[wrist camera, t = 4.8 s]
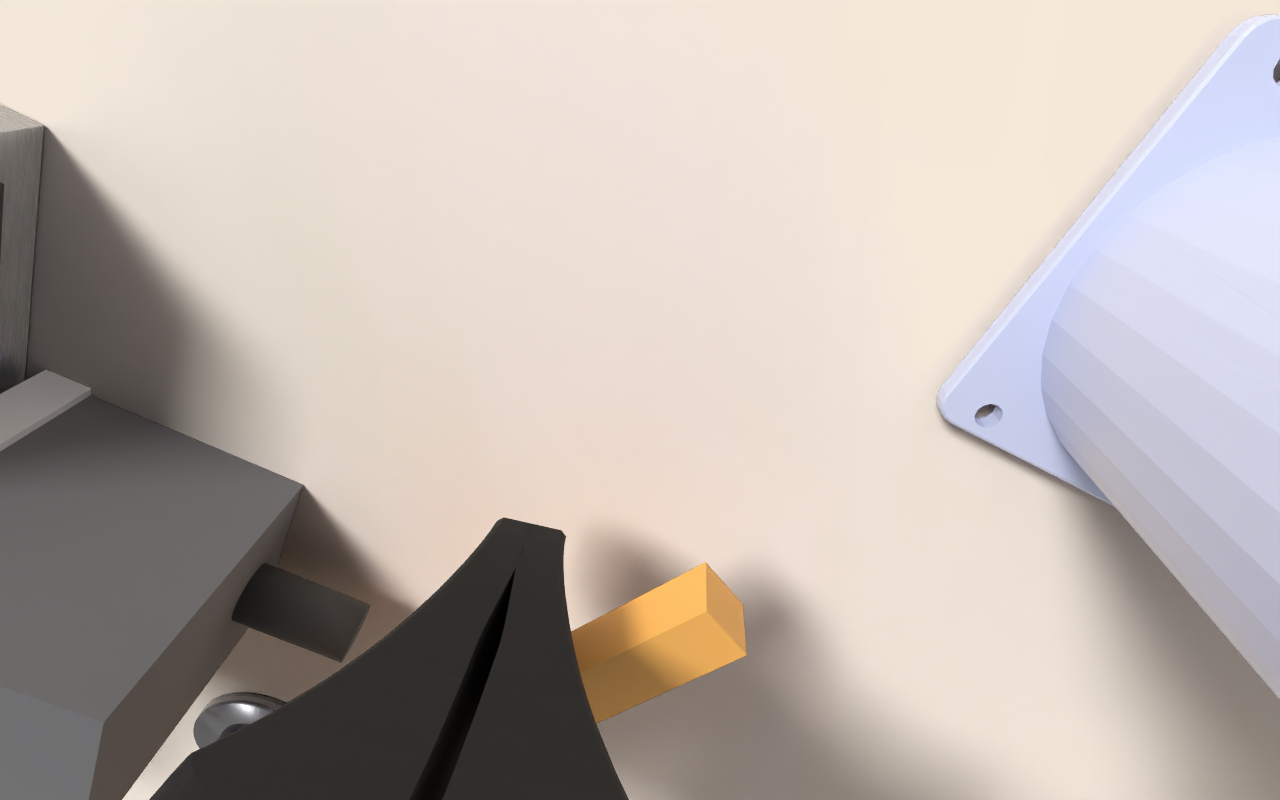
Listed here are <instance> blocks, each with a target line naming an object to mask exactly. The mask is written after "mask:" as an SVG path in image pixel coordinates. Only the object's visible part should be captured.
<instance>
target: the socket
mask: <svg viewBox="0 0 1280 800" xmlns="http://www.w3.org/2000/svg"><path fill="white" fill-rule="evenodd" d="M43 132H44V125H42V124H40V123H38V122H36V121H33V120H31V119H29V118H27V117H25V116H23V115H21V114H19V113H17V112H14V111H12V110H10V109H8V108H6V107H4V106H2V105H0V394H1V393H3V392H5V391H7V390H9V389H10V388H12V387H14V386H16V385H18V384H20V383H22V382H23V381H25V369H26V356H27V342H28V329H29V316H30V303H31V290H32V277H33V263H34V250H35V237H36V224H37V211H38V198H39V184H40V171H41V158H42V145H43Z"/></svg>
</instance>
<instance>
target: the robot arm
mask: <svg viewBox="0 0 1280 800" xmlns="http://www.w3.org/2000/svg"><path fill="white" fill-rule="evenodd" d="M1279 59H1280V15H1262V16H1254V17H1252V18H1250V19H1248V20H1246V21H1244V22H1242V23H1240V24H1239V25H1238V26H1237V27H1236V28H1235V29H1234V30H1233V31H1232V32H1230V33H1229V34H1228V35H1227V37H1226V38H1225V39H1224V40H1223V42H1222V43H1221V44H1220V45H1219V46H1218V48H1217V49H1216V50H1215V51H1214V53H1213V54H1212V55H1211V56H1210V57H1209V59H1208V60H1207V61H1206V62H1205V64H1204V65H1203V66H1202V67H1201V69H1200V70H1199V71H1198V72H1197V73H1196V75H1195V76H1194V77H1193V78H1192V80H1191V81H1190V82H1189V83H1188V84H1187V86H1186V87H1185V88H1184V89H1183V91H1182V92H1181V93H1180V94H1179V96H1178V97H1177V98H1176V99H1175V100H1174V102H1173V103H1172V104H1171V105H1170V107H1169V108H1168V109H1167V110H1166V111H1165V113H1164V114H1163V115H1162V116H1161V118H1160V119H1159V120H1158V121H1157V123H1156V124H1155V125H1154V126H1153V127H1152V129H1151V130H1150V131H1149V132H1148V134H1147V135H1146V136H1145V137H1144V138H1143V140H1142V141H1141V142H1140V143H1139V145H1138V146H1137V147H1136V148H1135V150H1134V151H1133V152H1132V153H1131V154H1130V156H1129V157H1128V158H1127V159H1126V161H1125V162H1124V163H1123V164H1122V165H1121V167H1120V168H1119V169H1118V170H1117V172H1116V173H1115V174H1114V175H1113V177H1112V178H1111V179H1110V180H1109V181H1108V183H1107V184H1106V185H1105V186H1104V188H1103V189H1102V190H1101V191H1100V192H1099V194H1098V195H1097V196H1096V197H1095V199H1094V200H1093V201H1092V202H1091V203H1090V205H1089V206H1088V207H1087V208H1086V210H1085V211H1084V212H1083V213H1082V215H1081V216H1080V217H1079V218H1078V219H1077V221H1076V222H1075V223H1074V224H1073V226H1072V227H1071V228H1070V229H1069V230H1068V232H1067V233H1066V234H1065V235H1064V237H1063V238H1062V239H1061V240H1060V242H1059V243H1058V244H1057V245H1056V246H1055V248H1054V249H1053V250H1052V251H1051V253H1050V254H1049V255H1048V256H1047V257H1046V259H1045V260H1044V261H1043V262H1042V264H1041V265H1040V266H1039V267H1038V269H1037V270H1036V271H1035V272H1034V273H1033V275H1032V276H1031V277H1030V278H1029V280H1028V281H1027V282H1026V283H1025V284H1024V286H1023V287H1022V288H1021V289H1020V291H1019V292H1018V293H1017V294H1016V296H1015V297H1014V298H1013V299H1012V300H1011V302H1010V303H1009V304H1008V305H1007V307H1006V308H1005V309H1004V310H1003V311H1002V313H1001V314H1000V315H999V316H998V318H997V319H996V320H995V321H994V323H993V324H992V325H991V326H990V327H989V329H988V330H987V331H986V332H985V334H984V335H983V336H982V337H981V338H980V340H979V341H978V342H977V343H976V345H975V346H974V347H973V348H972V350H971V351H970V352H969V353H968V354H967V356H966V357H965V358H964V359H963V361H962V362H961V363H960V364H959V365H958V367H957V368H956V369H955V370H954V372H953V373H952V374H951V375H950V377H949V378H948V379H947V380H946V381H945V383H944V384H943V385H942V386H941V388H940V390H939V392H938V394H937V402H936V403H937V406H938V408H939V410H940V412H941V414H942V415H943V417H944V418H945V419H946V420H947V421H949V422H950V423H951V424H953V425H955V426H957V427H959V428H961V429H963V430H965V431H967V432H969V433H971V434H973V435H975V436H977V437H979V438H981V439H983V440H985V441H987V442H989V443H990V444H992V445H994V446H996V447H998V448H1000V449H1002V450H1004V451H1006V452H1008V453H1010V454H1012V455H1014V456H1016V457H1018V458H1020V459H1022V460H1024V461H1026V462H1028V463H1030V464H1032V465H1034V466H1036V467H1038V468H1040V469H1041V470H1043V471H1045V472H1047V473H1049V474H1051V475H1053V476H1055V477H1057V478H1059V479H1061V480H1063V481H1065V482H1067V483H1069V484H1071V485H1073V486H1075V487H1077V488H1079V489H1081V490H1083V491H1085V492H1087V493H1089V494H1091V495H1092V496H1094V497H1096V498H1098V499H1100V500H1102V501H1104V502H1106V503H1108V504H1110V505H1112V506H1114V507H1116V509H1117V510H1118V511H1119V512H1120V513H1121V514H1122V516H1123V517H1124V518H1125V519H1126V520H1127V521H1128V523H1129V524H1130V525H1131V526H1132V527H1133V528H1134V530H1135V531H1136V532H1137V533H1138V534H1139V535H1140V537H1141V538H1142V539H1143V540H1144V541H1145V542H1146V544H1147V545H1148V546H1149V547H1150V548H1151V549H1152V551H1153V552H1154V553H1155V554H1156V555H1157V556H1158V558H1159V559H1160V560H1161V561H1162V562H1163V564H1164V565H1165V566H1166V567H1167V568H1168V569H1169V571H1170V572H1171V573H1172V574H1173V575H1174V576H1175V578H1176V579H1177V580H1178V581H1179V582H1180V583H1181V585H1182V586H1183V587H1184V588H1185V589H1186V590H1187V592H1188V593H1189V594H1190V595H1191V596H1192V597H1193V599H1194V600H1195V601H1196V602H1197V603H1198V604H1199V606H1200V607H1201V608H1202V609H1203V610H1204V612H1205V613H1206V614H1207V615H1208V616H1209V617H1210V619H1211V620H1212V621H1213V622H1214V623H1215V624H1216V626H1217V627H1218V628H1219V629H1220V630H1221V631H1222V633H1223V634H1224V635H1225V636H1226V637H1227V638H1228V640H1229V641H1230V642H1231V643H1232V644H1233V645H1234V647H1235V648H1236V649H1237V650H1238V651H1239V652H1240V654H1241V655H1242V656H1243V657H1244V658H1245V659H1246V661H1247V662H1248V663H1249V664H1250V665H1251V667H1252V668H1253V669H1254V670H1255V671H1256V672H1257V674H1258V675H1259V676H1260V677H1261V678H1262V679H1263V681H1264V682H1265V683H1266V684H1267V685H1268V686H1269V688H1270V689H1271V690H1272V691H1273V692H1274V693H1275V695H1276V696H1277V697H1278V698H1279V699H1280V81H1279V82H1277V83H1276V82H1275V81H1274V79H1273V72H1274V68H1275V66H1276V64H1277V63H1278V61H1279ZM989 404H994V405H995V408H994V410H993V412H992V413H990V414H989V415H988V416H985V417H981V418H978V417H975V414H976V412H977V410H978V409H980V408H981V407H982V406H984V405H989ZM565 538H566V536H565V535H564V533H563V532H562V531H561V530H557V529H553V528H548V527H544V526H539V525H535V524H530V523H526V522H521V521H517V520H513V519H508V518H502V519H500V520H498V521H497V522H496V523H495V525H494V526H493V528H492V529H491V531H490V532H489V533H488V535H487V536H486V537H485V539H484V540H483V541H482V542H481V544H480V545H479V546H478V547H477V548H476V550H475V551H474V552H473V553H472V554H471V555H470V557H469V558H468V559H467V560H466V561H465V562H464V563H463V564H462V565H461V566H460V568H459V569H458V570H457V571H456V572H455V573H454V574H453V575H452V576H451V577H450V578H449V579H448V580H447V581H446V582H445V583H444V584H443V585H442V586H441V587H440V588H439V589H438V590H437V591H436V592H435V593H434V594H433V595H432V596H431V597H430V598H429V599H428V600H427V601H425V602H424V603H423V604H422V605H421V606H420V607H419V608H418V609H417V610H416V611H415V612H414V613H413V614H411V615H410V616H409V617H408V618H407V619H406V620H405V621H403V622H402V623H401V624H400V625H399V626H398V627H396V628H395V629H394V630H393V631H391V632H390V633H389V634H388V635H387V636H385V637H384V638H383V639H381V640H380V641H379V642H378V643H376V644H375V645H374V646H372V647H371V648H370V649H369V650H367V651H366V652H365V653H363V654H362V655H360V656H359V657H357V658H356V659H355V660H353V661H352V662H350V663H349V664H348V665H346V666H345V667H343V668H342V669H341V670H339V671H338V672H336V673H335V674H333V675H332V676H330V677H329V678H327V679H326V680H324V681H323V682H321V683H320V684H318V685H316V686H315V687H313V688H312V689H310V690H308V691H306V692H305V693H303V694H301V695H300V696H298V697H296V698H295V699H293V700H291V701H290V702H288V703H286V704H285V705H283V706H281V707H280V708H278V709H276V710H274V711H273V712H271V713H269V714H268V715H266V716H264V717H262V718H260V719H258V720H257V721H255V722H253V723H251V724H249V725H247V726H245V727H243V728H241V729H239V730H237V731H235V732H233V733H231V734H229V735H227V736H225V737H223V738H221V739H219V740H217V741H215V742H213V743H211V744H209V745H207V746H205V747H203V748H201V749H199V750H197V751H195V752H193V753H191V754H190V755H189V756H188V757H187V758H186V759H185V760H184V761H183V762H182V763H181V764H180V765H179V766H178V768H177V769H176V770H175V771H174V772H173V773H172V774H171V775H170V776H169V777H168V779H167V780H166V781H165V782H164V783H163V785H162V786H161V787H160V788H159V789H158V790H157V791H156V793H155V794H154V795H153V796H152V797H151V798H150V800H629V799H628V797H627V795H626V793H625V791H624V789H623V786H622V784H621V782H620V780H619V778H618V776H617V774H616V772H615V769H614V767H613V764H612V762H611V759H610V757H609V755H608V752H607V750H606V747H605V745H604V742H603V740H602V737H601V735H600V733H599V730H598V728H597V725H596V722H595V719H594V716H593V713H592V710H591V707H590V704H589V701H588V698H587V695H586V691H585V688H584V685H583V681H582V678H581V674H580V670H579V666H578V662H577V658H576V654H575V649H574V645H573V640H572V635H571V630H570V624H569V618H568V611H567V604H566V597H565V587H564V570H563V555H564V543H565Z"/></svg>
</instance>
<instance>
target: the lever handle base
mask: <svg viewBox="0 0 1280 800" xmlns="http://www.w3.org/2000/svg"><path fill="white" fill-rule="evenodd" d="M283 705H285V703H283V702H280V701H278V700H276V699H273V698H270V697H267V696H262V695H258V694H252V693H232V694H226V695H222V696H220V697H217V698H215V699H214V700H212V701H211V702H210V703H209V704H207V706H206V707H205V709H204V710H203V711H202V713H201V714H200V716H199V717H198V718H197V720H196V722H195V724H194V737H195V740H196V743H197V745H198V746H199V748H200V749H201V748H203V747H205V746H207V745H209V744H211V743H213V742H215V741H217V740H219V739H221V738H223V737H225V736H227V735H229V734H231V733H233V732H235V731H237V730H239V729H241V728H243V727H245V726H247V725H249V724H251V723H253V722H255V721H257V720H258V719H260V718H262V717H264V716H266V715H268V714H269V713H271V712H273V711H274V710H276V709H278V708H280V707H281V706H283Z"/></svg>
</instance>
